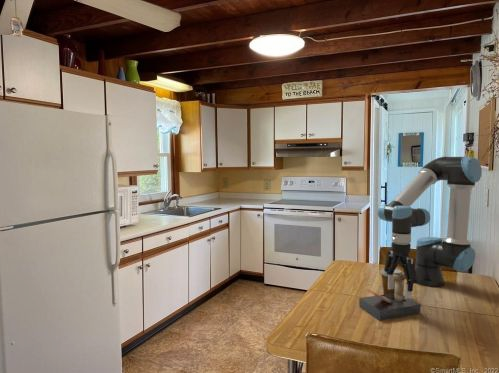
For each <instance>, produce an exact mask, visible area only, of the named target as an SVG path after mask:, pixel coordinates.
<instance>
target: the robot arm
mask: <svg viewBox="0 0 499 373" xmlns="http://www.w3.org/2000/svg"><path fill="white" fill-rule="evenodd" d="M482 174H483V170H482V166H481V163H480V161H479V160H478V159H477V158H476V157H473V156H472V157H471V156H442V157H438V158H435V159H432V160H431V161H429V162H428V163H426V164H425V165H424V166H422V167H421V168H420V169H419V171H418V174H417V175H416V176H415V177H414V178H413V179H412V180H411V181H410V182H409V184H407V185H406V187H405V188H403V189H402V191H400V193H398V194H397V196H395V198H393V199H392V200H391V201H390V202H389V204H386V203H384V204H380V205H379V207H378V209H377V216H378V218H379V219H380V220H382V221H385V222H390V223H391V224H392V225H391V241H392V242H391V245H390V246H391V249H390V251H389V250H388V251H387V258H386V261H385V266H384V267H383V268H384V271H385V272H387V274H388V279H387V280H388V289H389V290H390V289H394V278H393V274H394V271H395V269H396V268H397V266H398V265H399V266H400V268H402V271H403V274H405V277H406V279H405V280H406V282H405V286H404V294H405V295H404V296H405V298H406V299H412V298H413V291H414V284H418V285H421V286H426V287H441V286H444V285H445V278H444V275H443V272H442V268H441V267H445V268H447V269H452V270H454V271H461V272H466V271H468V270H469V269H471V267H472V266H473V264H474V261H475V258H476V251H475V249H474V248H473V247H471V242H470V240H469V239H468V230H469V218H470V206H471V193H472V192H471V191H472V189H473V188H474V187H475V186H476V183H478V182H479V181H480V180H481V179H482ZM439 181H446V185H447V186H448V187H449V189H450V190H449V201H448V202H449V203H448V215H447V227H446V237H445V238H442V237H438V236H427V237H426V236H425V237H420V238H418V239H417V240H416V246H415V248H416V251H415V252H416V253H415V258H410V253H411V250H412V248H411V242H412V228H415V227H416V228H417V227H422V226H426V225H428V224H429V223H430V220H431V214H430V212H429V211H428V210H427V209H426V208H422V207H421V208H413V207H411V206H412V205H414V203H415V202H416V201H417V200H418V199H419V198H420V197H421V196H422V194H424V192H426V190H427V189H429V187H430V186H432V185H435V184H436V183H437V182H439ZM387 268H388V269H387Z"/></svg>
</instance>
